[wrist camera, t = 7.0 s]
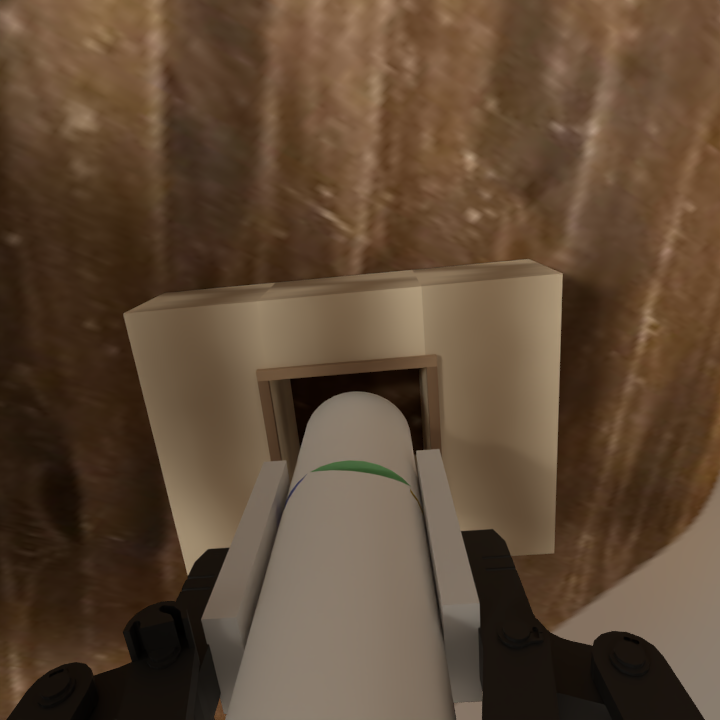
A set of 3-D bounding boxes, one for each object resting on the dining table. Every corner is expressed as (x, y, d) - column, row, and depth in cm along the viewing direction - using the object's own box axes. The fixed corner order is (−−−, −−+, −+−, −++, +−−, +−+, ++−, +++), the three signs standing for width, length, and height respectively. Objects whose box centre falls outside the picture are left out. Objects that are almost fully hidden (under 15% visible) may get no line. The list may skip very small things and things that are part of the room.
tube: (431, 451, 21) (567, 1036, 6) (347, 504, 21) (299, 1122, 7) (369, 370, 20) (362, 852, 5) (282, 430, 20) (79, 978, 6)
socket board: (214, 521, 26) (186, 581, 22) (164, 292, 23) (119, 315, 19) (526, 499, 26) (556, 557, 22) (529, 258, 22) (565, 274, 18)
